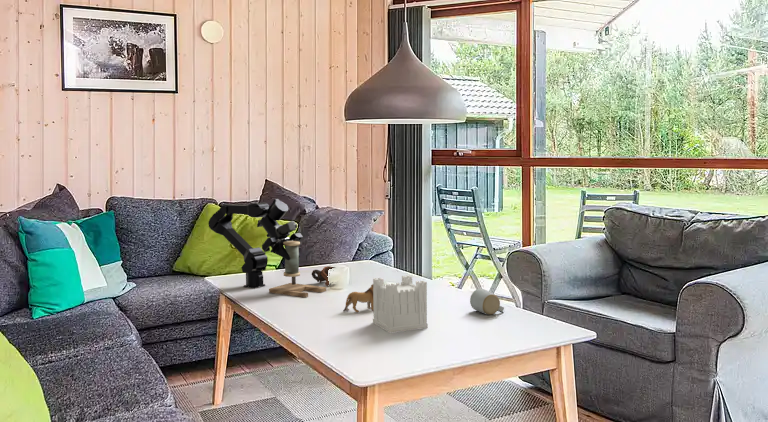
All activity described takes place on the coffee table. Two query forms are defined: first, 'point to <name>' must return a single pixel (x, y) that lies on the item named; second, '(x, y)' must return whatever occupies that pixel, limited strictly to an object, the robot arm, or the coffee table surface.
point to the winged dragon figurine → (322, 275)
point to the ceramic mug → (485, 302)
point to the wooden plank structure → (296, 289)
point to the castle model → (400, 305)
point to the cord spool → (292, 259)
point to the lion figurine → (360, 299)
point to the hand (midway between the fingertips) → (294, 258)
